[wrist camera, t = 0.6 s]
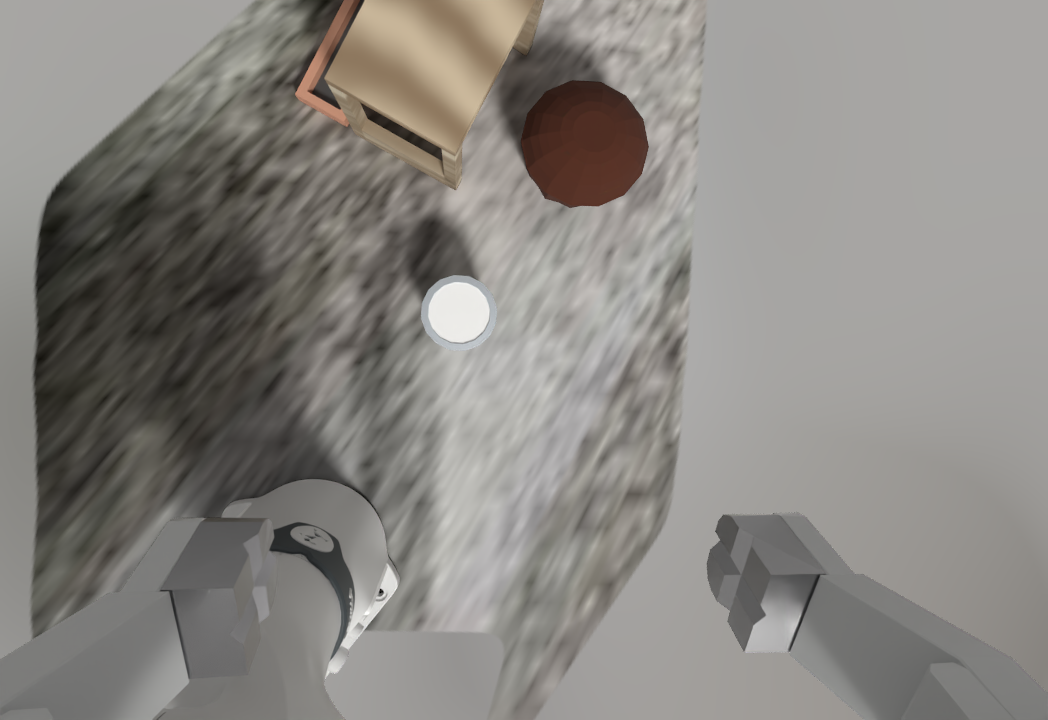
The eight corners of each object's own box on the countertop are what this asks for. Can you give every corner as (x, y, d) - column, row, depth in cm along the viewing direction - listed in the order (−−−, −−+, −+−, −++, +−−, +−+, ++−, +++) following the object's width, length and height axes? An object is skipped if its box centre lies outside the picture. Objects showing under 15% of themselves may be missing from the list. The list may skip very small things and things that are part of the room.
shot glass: (434, 271, 57) (431, 265, 50) (500, 290, 58) (505, 286, 51) (417, 337, 58) (412, 339, 51) (483, 354, 58) (486, 359, 51)
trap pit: (347, 127, 55) (344, 121, 54) (299, 100, 55) (295, 94, 53) (423, -19, 55) (422, -29, 54) (376, -48, 54) (374, -58, 53)
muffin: (513, 216, 58) (524, 195, 48) (514, 105, 57) (525, 60, 47) (626, 220, 59) (660, 200, 49) (628, 111, 58) (663, 68, 48)
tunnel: (455, 190, 57) (455, 152, 44) (355, 134, 55) (324, 78, 43) (532, 45, 57) (553, -36, 44) (433, -16, 55) (425, -117, 42)
